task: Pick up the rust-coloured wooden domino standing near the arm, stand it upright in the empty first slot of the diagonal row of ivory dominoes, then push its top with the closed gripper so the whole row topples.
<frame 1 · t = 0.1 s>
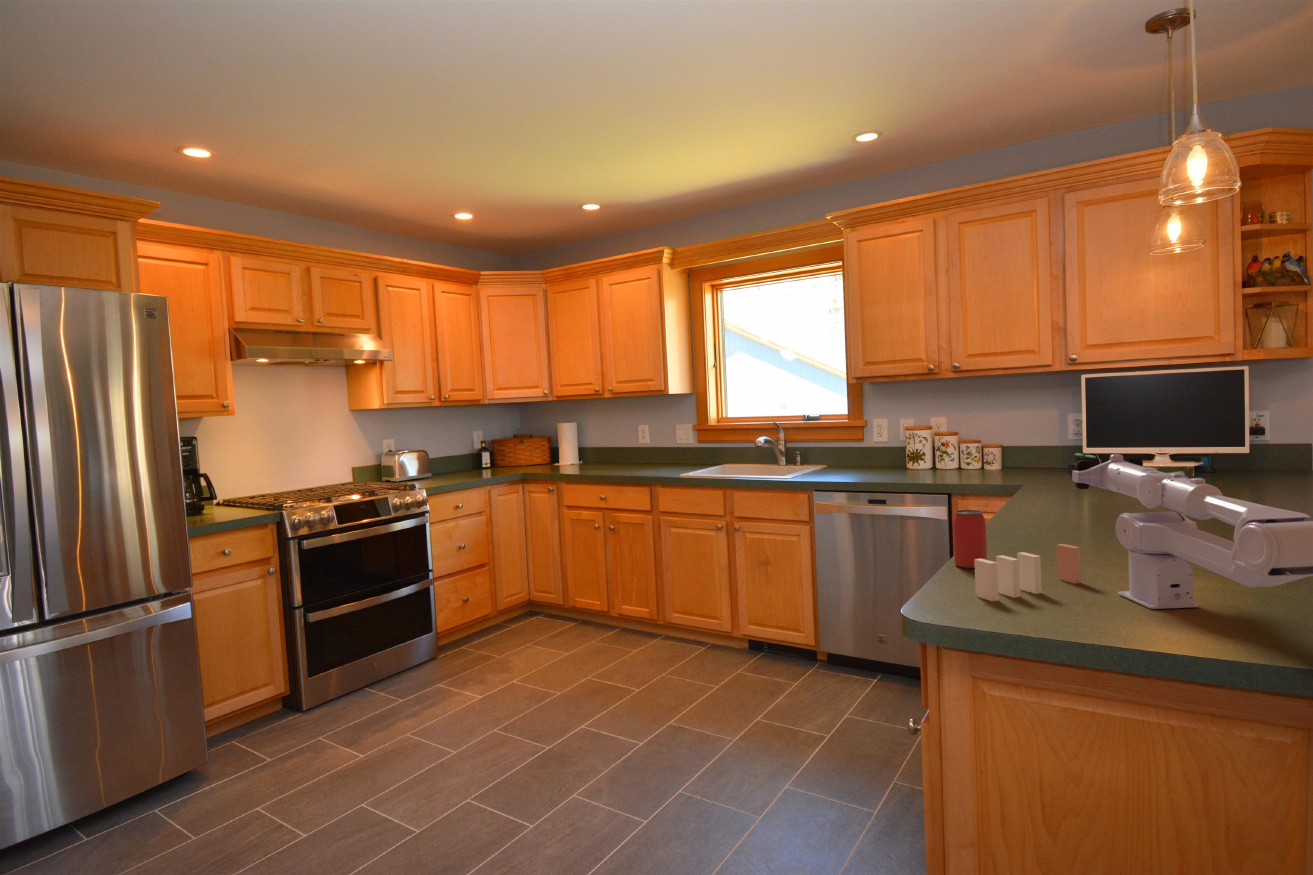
hand: (1089, 467, 141), 22 cm above the countertop, tool horizontal, fingers open, 7 cm apart
ivory domino 4: (986, 598, 130), on the countertop
ivory domino 3: (1008, 594, 132), on the countertop
beer can: (970, 566, 154), on the countertop
ivory domino 2: (1029, 590, 133), on the countertop
rust domino: (1069, 580, 138), on the countertop
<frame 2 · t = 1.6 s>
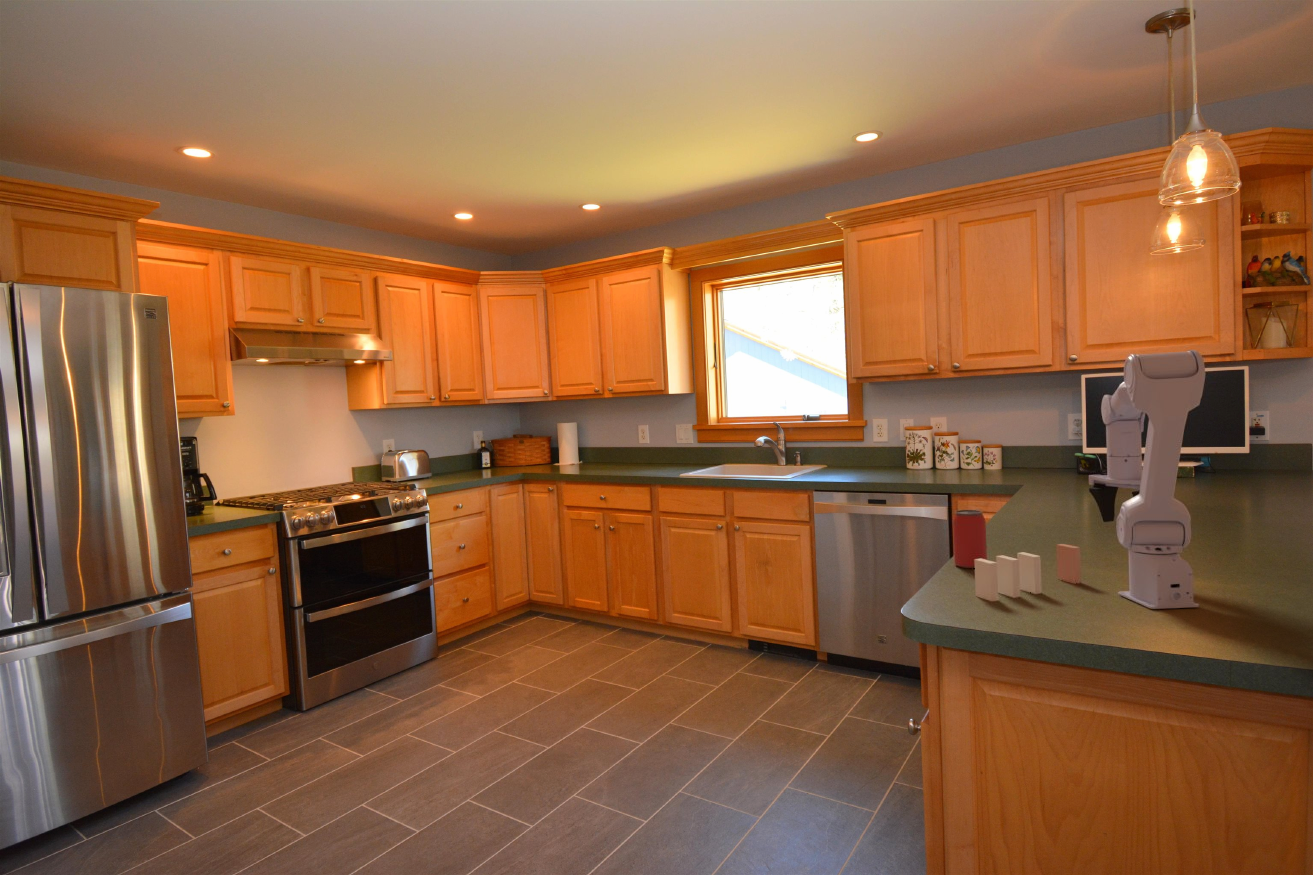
hand: (1125, 524, 139), 10 cm above the countertop, tool pointing down, fingers open, 7 cm apart
nothing on the countertop moved.
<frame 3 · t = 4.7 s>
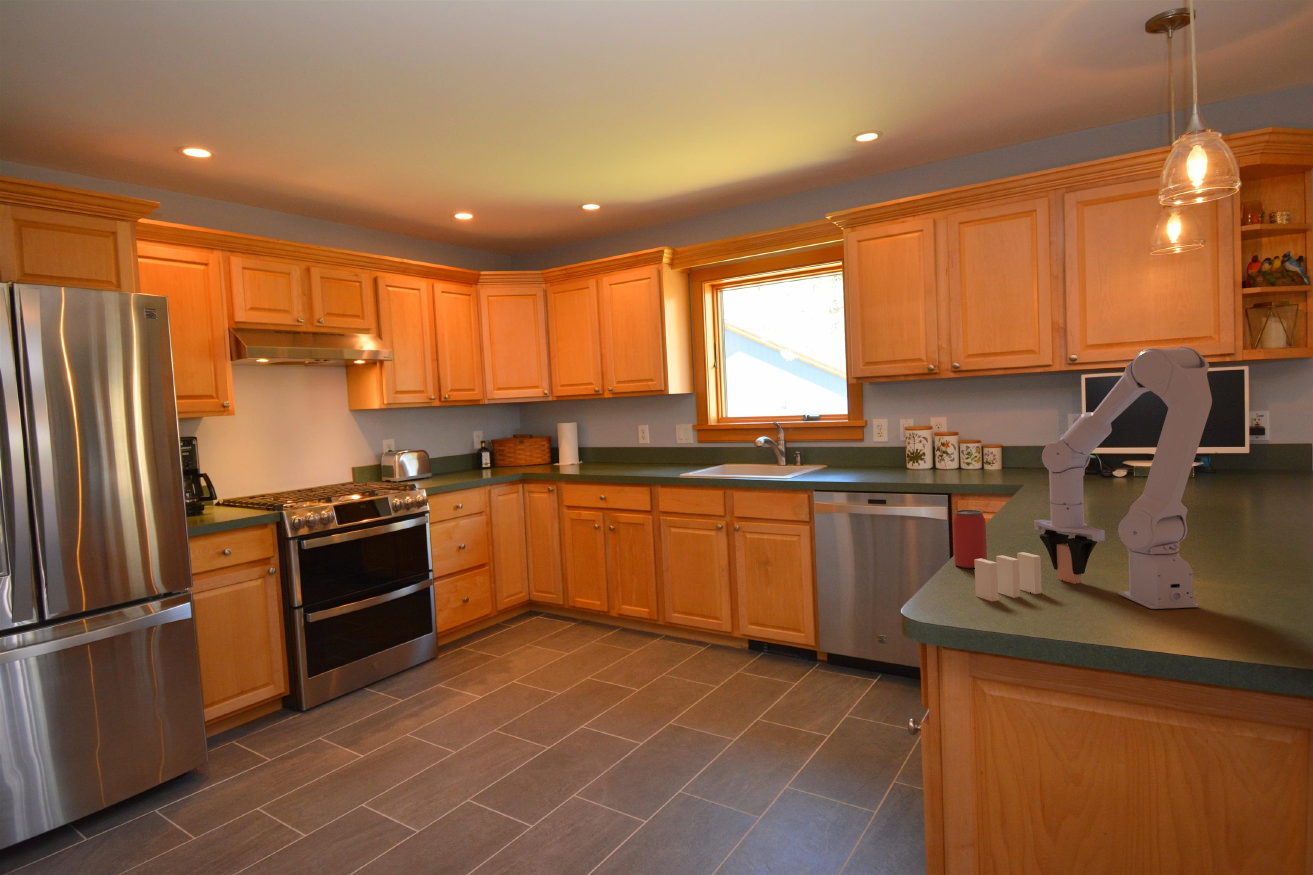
hand: (1068, 571, 138), 2 cm above the countertop, tool pointing down, fingers closed on rust domino, 4 cm apart
rust domino: (1069, 580, 138), on the countertop, touching gripper
everything else where it was.
when the fingers open (3 cm above the countertop, at t = 8.8 s): rust domino drops 1 cm, on the countertop.
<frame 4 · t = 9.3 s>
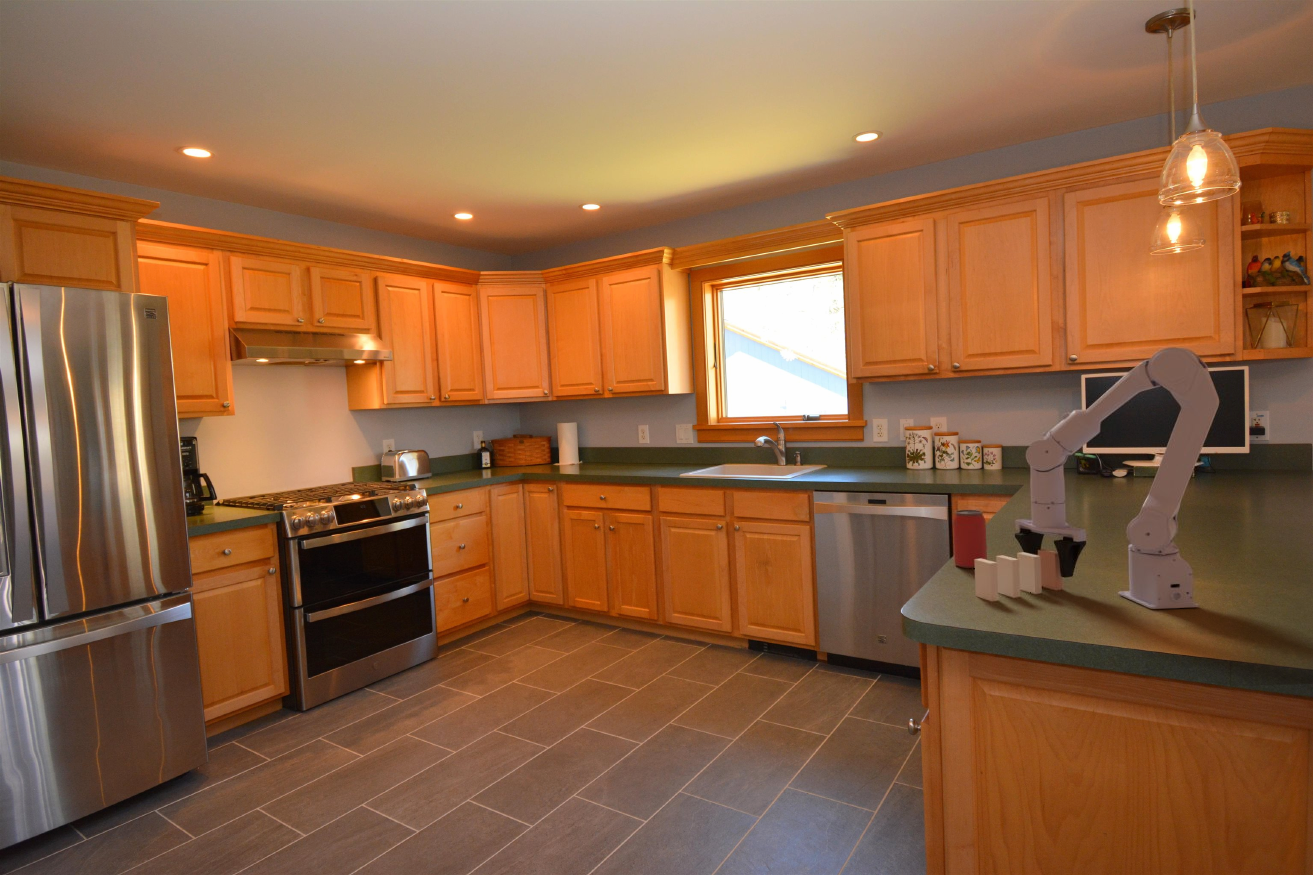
hand: (1050, 572, 135), 3 cm above the countertop, tool pointing down, fingers open, 7 cm apart
rust domino: (1050, 587, 135), on the countertop
everything else where it was.
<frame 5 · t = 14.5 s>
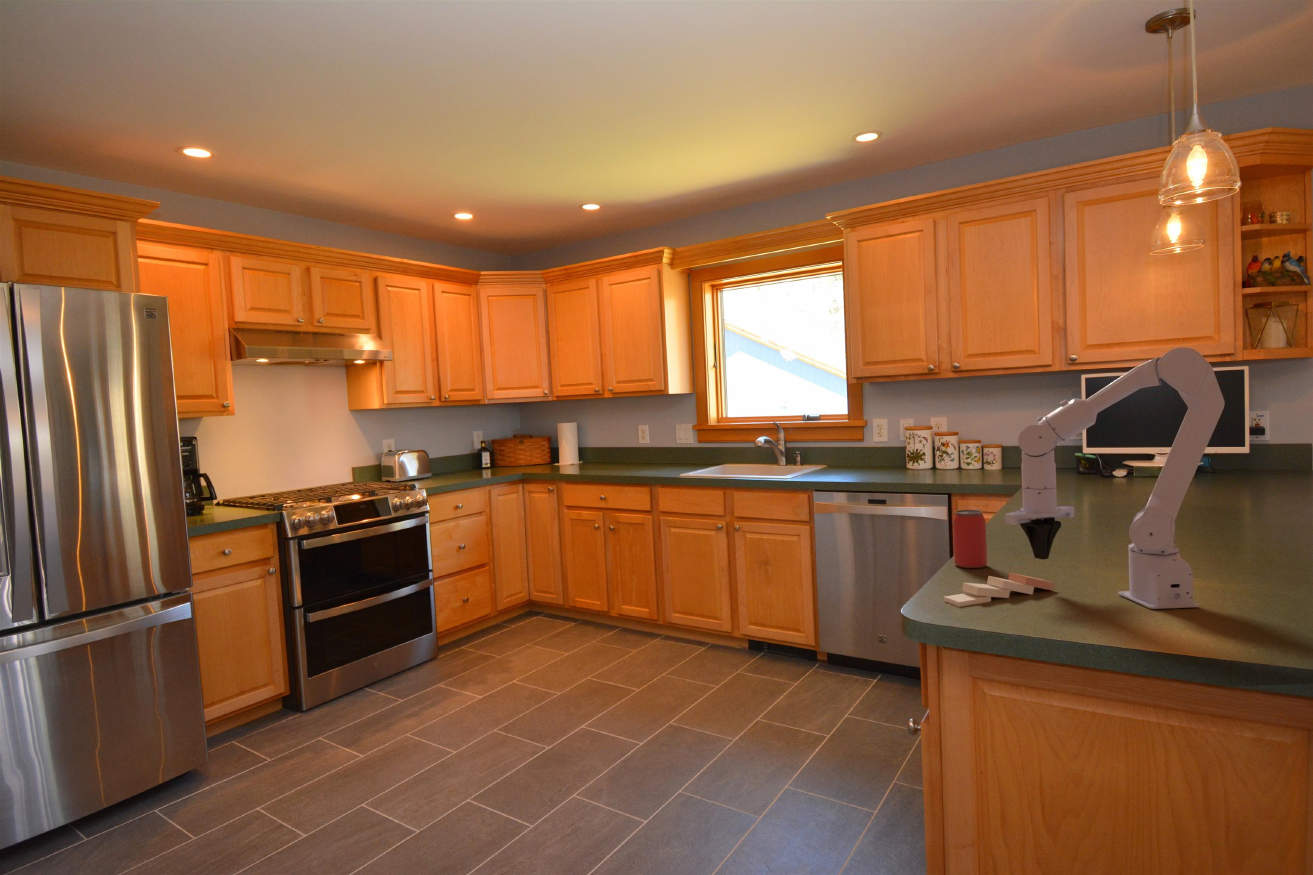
hand: (1041, 558, 134), 6 cm above the countertop, tool pointing down, fingers closed
ivory domino 4: (982, 598, 130), on the countertop, tilted 90°, touching ivory domino 3
ivory domino 3: (1001, 591, 131), point 1 cm above the countertop, tilted 79°, touching ivory domino 2, ivory domino 4
ivory domino 2: (1024, 588, 133), point 1 cm above the countertop, tilted 73°, touching ivory domino 3, rust domino
rust domino: (1045, 584, 134), point 1 cm above the countertop, tilted 73°, touching ivory domino 2
everything else where it was.
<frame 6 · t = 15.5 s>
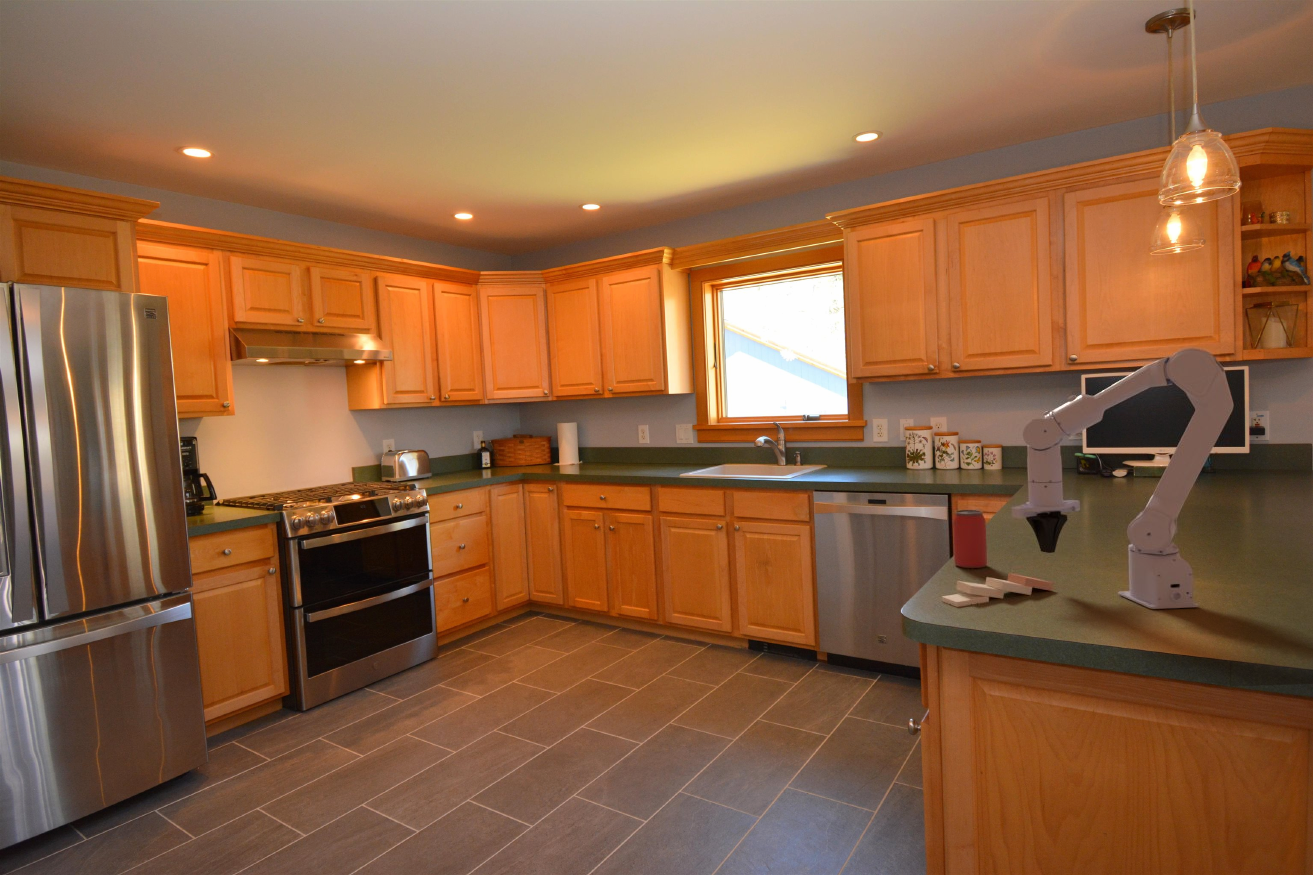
hand: (1047, 551, 134), 7 cm above the countertop, tool pointing down, fingers closed
ivory domino 4: (980, 598, 130), on the countertop, tilted 90°
ivory domino 3: (996, 591, 131), point 1 cm above the countertop, tilted 77°, touching ivory domino 2
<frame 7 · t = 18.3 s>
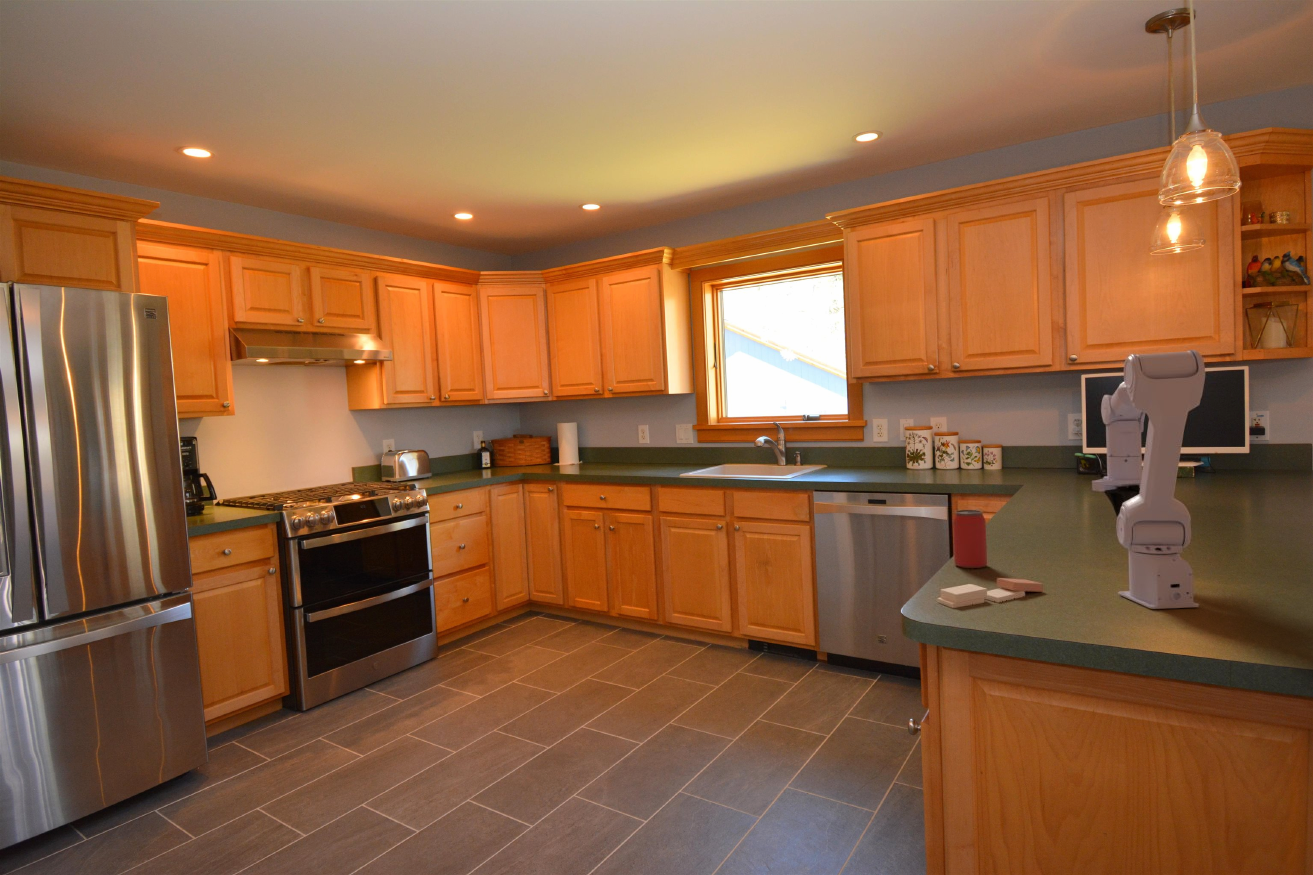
hand: (1125, 524, 139), 10 cm above the countertop, tool pointing down, fingers closed
ivory domino 4: (976, 599, 130), on the countertop, tilted 90°, touching ivory domino 3
ivory domino 3: (978, 590, 130), point 2 cm above the countertop, tilted 91°, touching ivory domino 4
ivory domino 2: (1015, 592, 132), on the countertop, tilted 90°, touching rust domino
rust domino: (1034, 585, 134), point 1 cm above the countertop, tilted 80°, touching ivory domino 2
everything else where it was.
at the end: ivory domino 4 tilted 90°; rust domino tilted 80°; rust domino inside the target area (3.4 cm from its centre), point 0.8 cm above the countertop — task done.
